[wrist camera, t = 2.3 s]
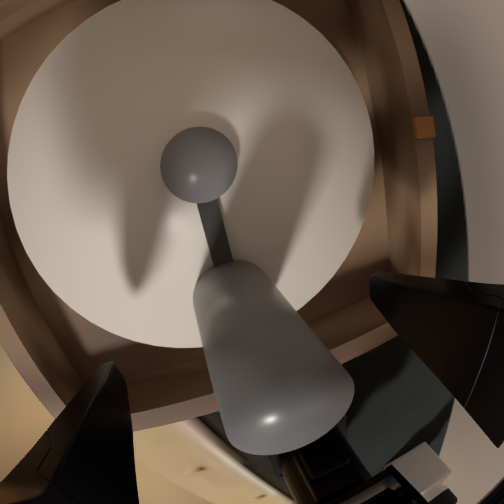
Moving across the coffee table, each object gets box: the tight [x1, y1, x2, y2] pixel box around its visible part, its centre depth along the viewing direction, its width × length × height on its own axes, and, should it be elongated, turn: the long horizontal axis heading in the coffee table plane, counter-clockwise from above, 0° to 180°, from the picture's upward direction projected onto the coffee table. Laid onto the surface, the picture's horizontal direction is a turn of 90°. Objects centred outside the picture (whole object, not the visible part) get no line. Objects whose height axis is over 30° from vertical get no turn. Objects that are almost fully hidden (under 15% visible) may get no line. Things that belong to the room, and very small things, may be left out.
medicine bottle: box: [383, 442, 457, 504], centre depth 24 cm, size 7×7×12 cm
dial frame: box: [0, 0, 437, 431], centre depth 10 cm, size 19×19×4 cm
